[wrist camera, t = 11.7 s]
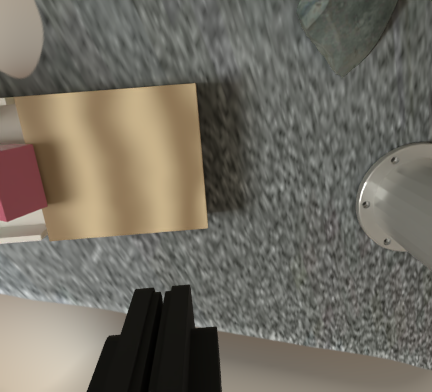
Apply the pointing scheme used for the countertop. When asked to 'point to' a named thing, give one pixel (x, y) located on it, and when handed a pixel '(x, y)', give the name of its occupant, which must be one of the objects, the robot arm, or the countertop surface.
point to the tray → (33, 222)
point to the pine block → (118, 160)
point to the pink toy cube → (19, 182)
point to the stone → (344, 28)
